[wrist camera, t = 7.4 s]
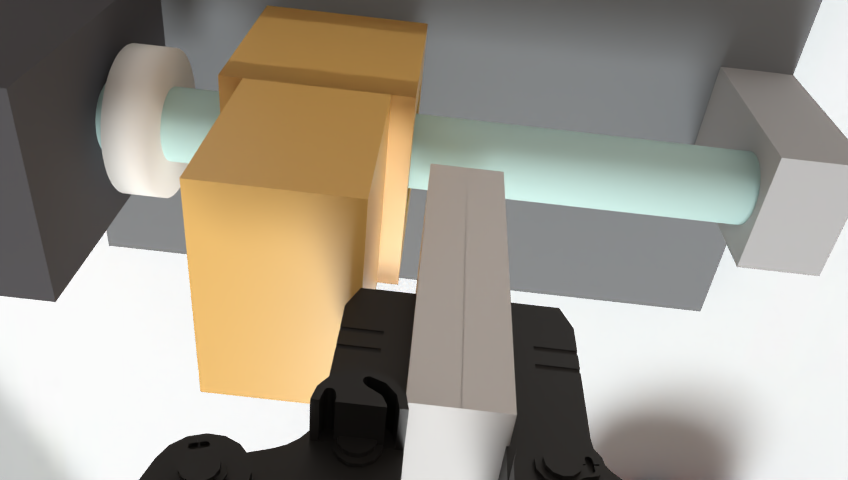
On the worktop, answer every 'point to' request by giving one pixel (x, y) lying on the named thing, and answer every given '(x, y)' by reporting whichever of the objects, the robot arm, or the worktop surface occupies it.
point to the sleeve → (298, 194)
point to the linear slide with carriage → (451, 134)
